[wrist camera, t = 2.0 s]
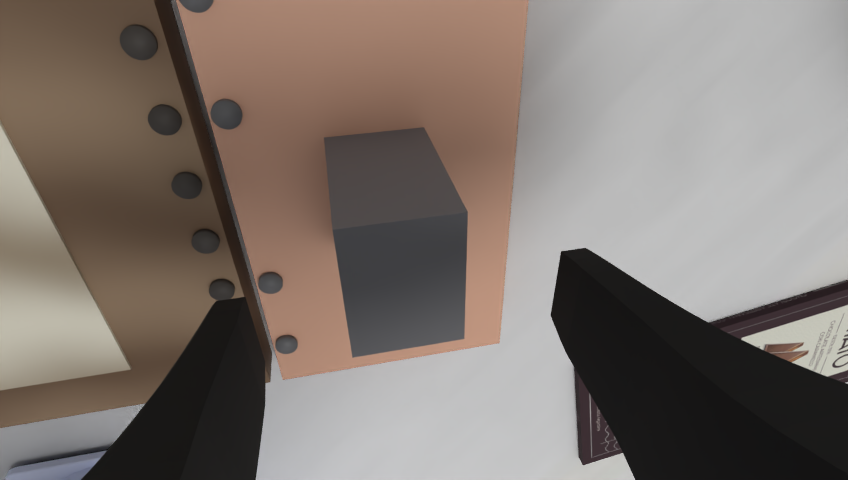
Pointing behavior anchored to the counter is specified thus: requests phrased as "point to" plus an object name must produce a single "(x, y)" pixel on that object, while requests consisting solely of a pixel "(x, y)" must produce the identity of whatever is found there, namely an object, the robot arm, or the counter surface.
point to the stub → (367, 167)
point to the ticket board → (104, 208)
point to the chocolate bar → (764, 328)
